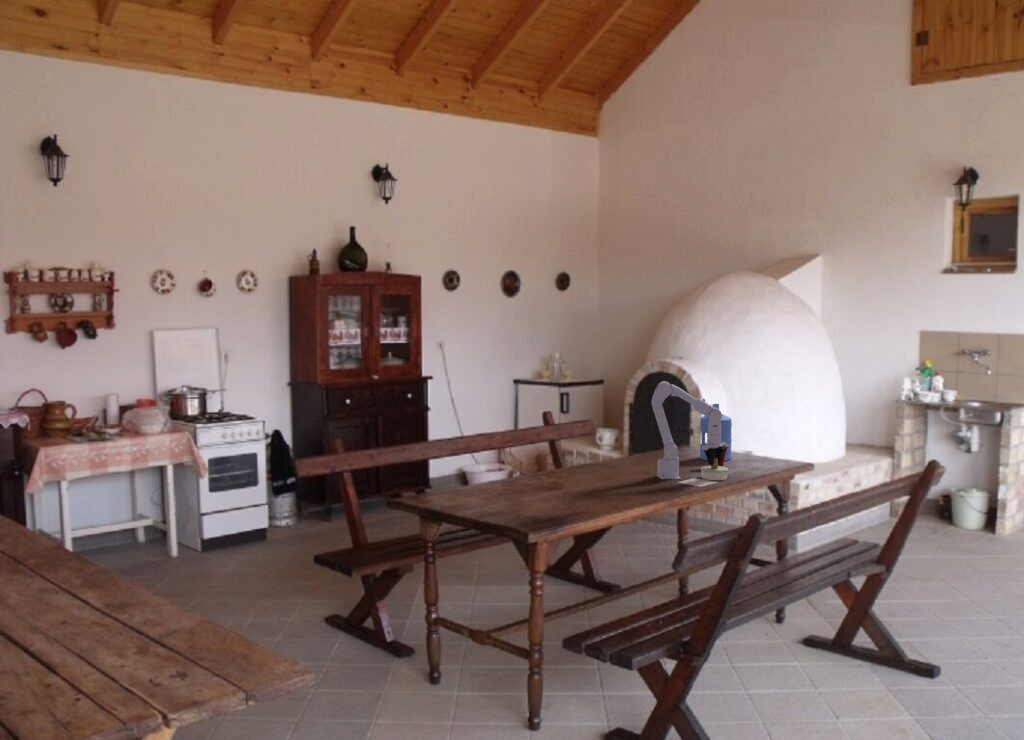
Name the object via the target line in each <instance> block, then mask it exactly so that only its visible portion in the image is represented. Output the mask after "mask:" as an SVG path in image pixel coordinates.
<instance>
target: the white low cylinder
mask: <svg viewBox="0 0 1024 740" xmlns="http://www.w3.org/2000/svg"><path fill="white" fill-rule="evenodd" d="M700 471H701V470H700ZM701 478H702V479H703V480H709V481H725V480H727V479H728V472H723V473H710V472H704V471H701Z"/></svg>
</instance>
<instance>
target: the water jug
mask: <svg viewBox="0 0 1024 740" xmlns="http://www.w3.org/2000/svg"><path fill="white" fill-rule="evenodd" d="M712 405H714V407H717V408H718V409H719V410H720V403H712ZM721 414H722V418H721V442H725V443H726V444H728V445H729V446H728V447H727V450H726V454H725V459H724V462H727V461H730V460H731V459H732V442H733V438H732V426H733V425H732V424H733V422H732V417H730V416H727V415H725V414H724V413H722V412H721ZM699 420H700V422H699V426H700V427H699V429H700V430H699V431H700V433H701V443H700V445H699V446H700V447H699V449H700V450H699V451H700V453H699V459H701V460H702V459H703V461H706V460H708V459H707V456H706V454H705V452H704V450H702V446H703V445H706V442H708V424H709V417H708V416H704V415H703V416H701V417H700V419H699ZM706 439H707V440H706Z"/></svg>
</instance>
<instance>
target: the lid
mask: <svg viewBox="0 0 1024 740" xmlns="http://www.w3.org/2000/svg"><path fill="white" fill-rule="evenodd" d="M700 471H704V472H710V473H723V472H727V473H728V472H729V468H728V467H726V466H723V467H722V466H718V458H714V464H713V465H711V466H710V465H705V466H704V465H703V466H701V467H700Z"/></svg>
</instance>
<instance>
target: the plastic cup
mask: <svg viewBox="0 0 1024 740" xmlns="http://www.w3.org/2000/svg"><path fill="white" fill-rule="evenodd" d="M705 443H706V444H708V442H707V441H705ZM728 446H729V445H728V444H726V447H722V448H725V451H724V453H723V455H722V457H721V461H720V464H718V466H722V467H724V462H725V461H724V459H725V454H726V450H727V447H728ZM714 458H715V456H714ZM709 466H711V465H709Z"/></svg>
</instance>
